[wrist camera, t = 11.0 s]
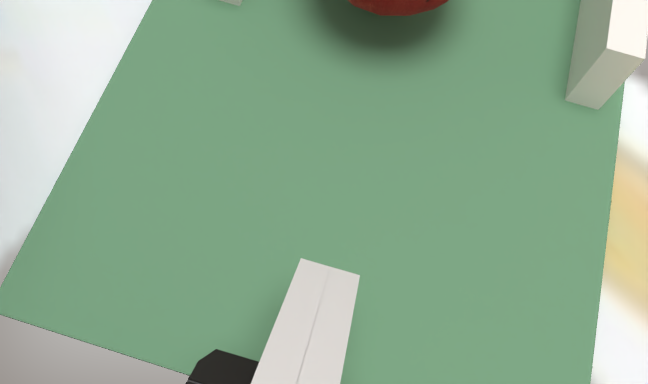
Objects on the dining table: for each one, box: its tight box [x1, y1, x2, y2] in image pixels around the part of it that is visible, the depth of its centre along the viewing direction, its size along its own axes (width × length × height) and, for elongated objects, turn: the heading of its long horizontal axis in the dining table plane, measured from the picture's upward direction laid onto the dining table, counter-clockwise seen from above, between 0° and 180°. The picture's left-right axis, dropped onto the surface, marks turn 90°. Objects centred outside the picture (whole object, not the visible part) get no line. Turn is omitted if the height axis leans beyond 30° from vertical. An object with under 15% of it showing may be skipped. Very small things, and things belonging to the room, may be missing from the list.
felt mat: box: [0, 0, 625, 384], centre depth 22 cm, size 17×23×1 cm
